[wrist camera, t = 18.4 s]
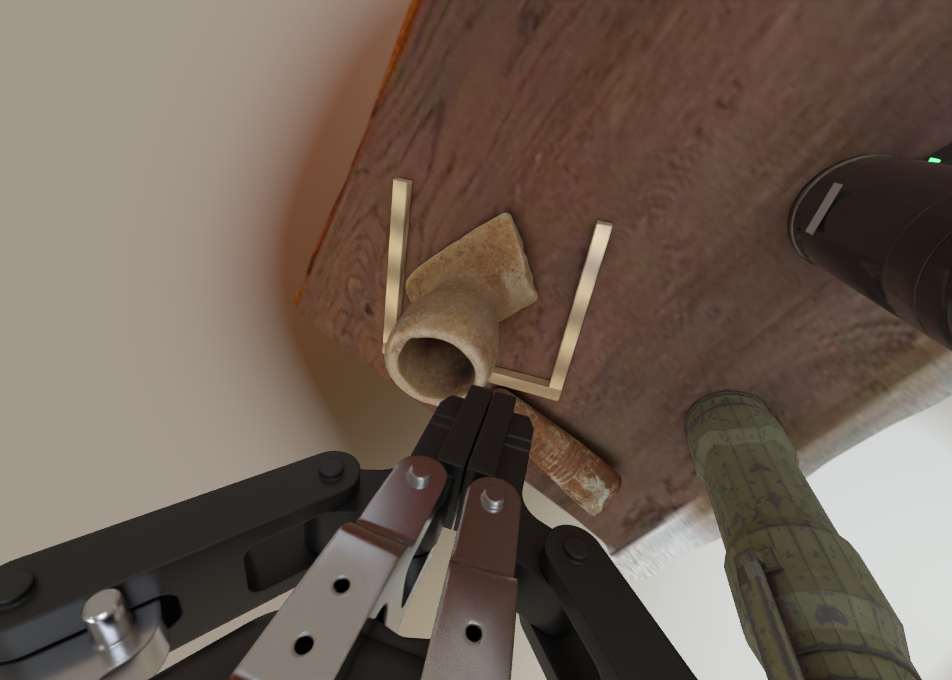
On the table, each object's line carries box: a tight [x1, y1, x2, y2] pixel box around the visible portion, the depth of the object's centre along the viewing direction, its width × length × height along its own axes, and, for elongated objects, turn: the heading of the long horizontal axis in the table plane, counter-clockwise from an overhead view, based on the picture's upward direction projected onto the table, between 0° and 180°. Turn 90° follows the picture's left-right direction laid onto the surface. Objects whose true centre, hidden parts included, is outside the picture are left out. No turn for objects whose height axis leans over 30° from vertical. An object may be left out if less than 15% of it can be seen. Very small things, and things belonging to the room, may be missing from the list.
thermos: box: [684, 391, 922, 680], centre depth 33 cm, size 9×12×35 cm
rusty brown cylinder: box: [492, 388, 621, 516], centre depth 51 cm, size 6×19×6 cm, turn 50°
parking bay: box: [382, 178, 612, 401], centre depth 47 cm, size 20×22×2 cm
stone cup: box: [384, 212, 538, 406], centre depth 41 cm, size 15×12×15 cm
